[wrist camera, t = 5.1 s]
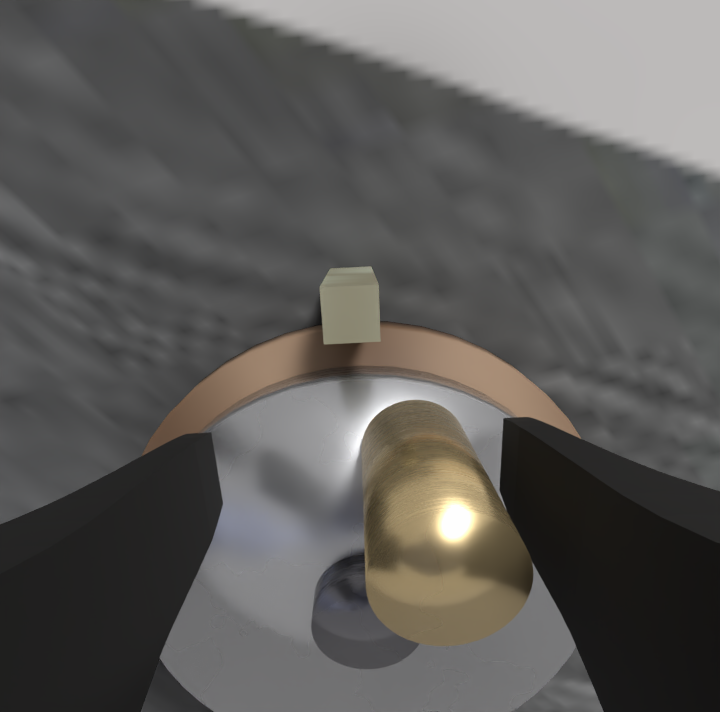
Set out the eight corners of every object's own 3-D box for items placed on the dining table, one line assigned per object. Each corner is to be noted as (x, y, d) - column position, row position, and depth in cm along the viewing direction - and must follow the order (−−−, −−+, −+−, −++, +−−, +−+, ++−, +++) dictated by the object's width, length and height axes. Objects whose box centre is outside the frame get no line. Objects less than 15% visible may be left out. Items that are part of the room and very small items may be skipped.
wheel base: (181, 708, 18) (133, 841, 14) (77, 281, 12) (-45, 305, 9) (566, 689, 18) (625, 818, 14) (623, 253, 12) (744, 266, 9)
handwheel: (497, 741, 17) (568, 994, 11) (133, 684, 15) (12, 935, 10) (651, 422, 13) (877, 572, 7) (176, 315, 11) (15, 396, 6)
